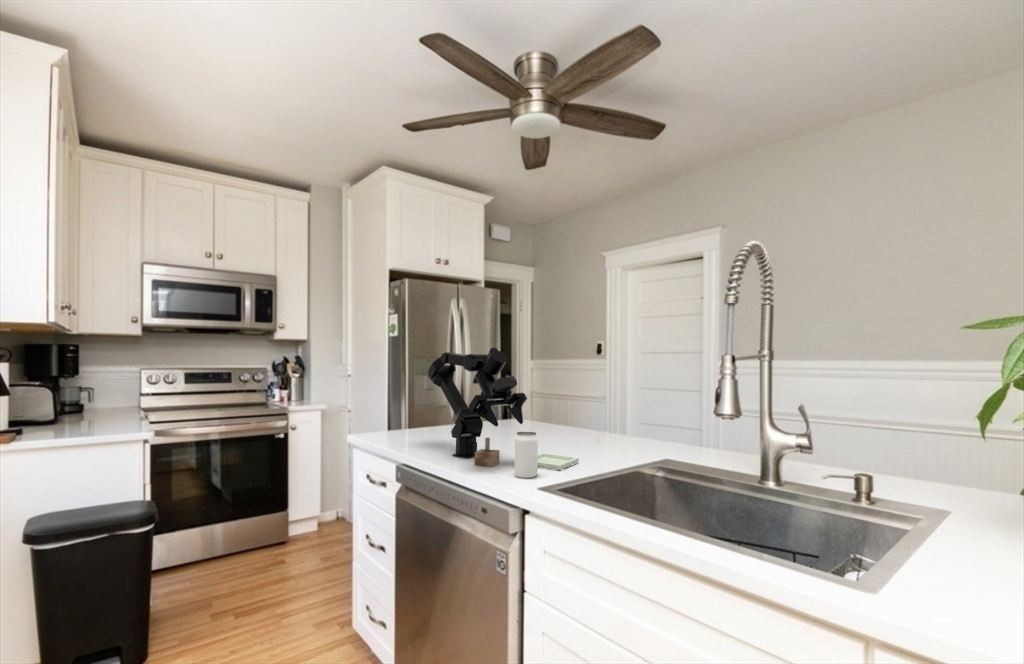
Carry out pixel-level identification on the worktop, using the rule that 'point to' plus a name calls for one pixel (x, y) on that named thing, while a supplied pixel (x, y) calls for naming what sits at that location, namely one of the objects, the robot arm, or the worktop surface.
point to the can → (526, 454)
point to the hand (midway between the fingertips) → (509, 424)
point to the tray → (555, 461)
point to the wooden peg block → (487, 456)
